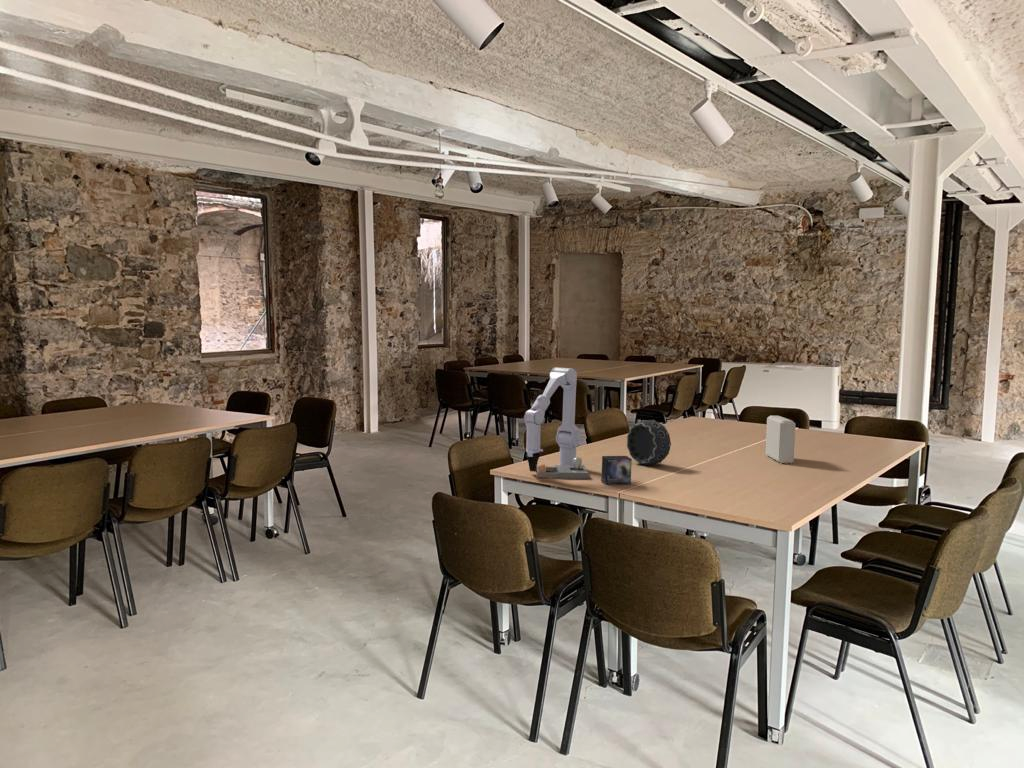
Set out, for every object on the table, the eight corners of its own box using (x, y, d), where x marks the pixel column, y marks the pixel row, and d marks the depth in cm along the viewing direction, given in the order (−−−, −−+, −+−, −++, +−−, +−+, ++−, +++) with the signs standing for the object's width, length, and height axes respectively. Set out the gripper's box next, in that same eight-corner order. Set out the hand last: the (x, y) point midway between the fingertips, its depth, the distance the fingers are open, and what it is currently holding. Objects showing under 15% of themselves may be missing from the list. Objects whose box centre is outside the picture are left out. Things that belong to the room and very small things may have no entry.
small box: (605, 485, 293) (606, 458, 292) (600, 481, 299) (601, 455, 299) (631, 484, 295) (632, 458, 294) (625, 481, 301) (626, 455, 301)
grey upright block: (796, 464, 344) (798, 421, 342) (779, 464, 344) (781, 420, 342) (781, 456, 365) (783, 415, 363) (764, 456, 365) (766, 415, 363)
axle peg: (572, 474, 313) (572, 457, 313) (580, 474, 314) (580, 457, 313) (573, 475, 310) (573, 459, 309) (582, 475, 310) (582, 459, 310)
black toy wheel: (640, 459, 349) (641, 417, 347) (672, 467, 333) (674, 422, 331) (623, 462, 343) (624, 418, 341) (655, 469, 326) (657, 423, 325)
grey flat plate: (534, 470, 319) (534, 464, 319) (583, 471, 320) (583, 465, 320) (536, 478, 303) (536, 472, 303) (588, 479, 304) (588, 472, 304)
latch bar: (537, 472, 316) (537, 463, 316) (544, 472, 316) (544, 463, 316) (538, 476, 306) (538, 468, 306) (546, 477, 306) (546, 468, 306)
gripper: (539, 441, 302) (539, 475, 303) (545, 436, 316) (545, 468, 317) (522, 440, 304) (522, 474, 305) (529, 435, 318) (528, 467, 319)
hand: (532, 471), depth 311 cm, fingers closed
